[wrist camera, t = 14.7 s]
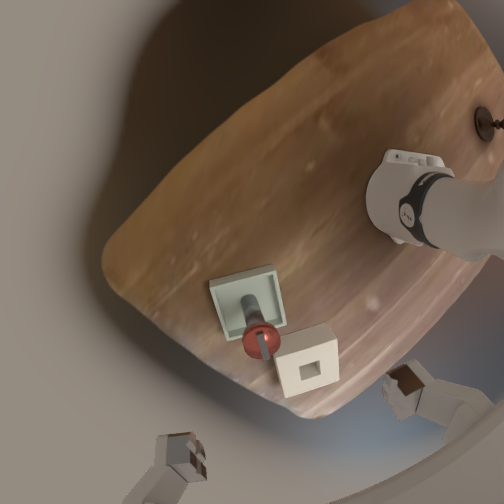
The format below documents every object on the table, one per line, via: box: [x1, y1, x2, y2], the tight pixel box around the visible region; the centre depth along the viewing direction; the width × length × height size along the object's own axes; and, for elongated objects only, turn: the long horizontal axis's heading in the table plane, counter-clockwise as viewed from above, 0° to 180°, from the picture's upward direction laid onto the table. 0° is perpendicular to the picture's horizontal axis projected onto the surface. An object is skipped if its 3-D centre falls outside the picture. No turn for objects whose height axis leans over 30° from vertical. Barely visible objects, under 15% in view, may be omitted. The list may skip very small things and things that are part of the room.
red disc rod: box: [241, 294, 281, 361], centre depth 44 cm, size 5×5×14 cm
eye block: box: [273, 322, 339, 398], centre depth 54 cm, size 12×12×6 cm
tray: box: [209, 264, 287, 341], centre depth 50 cm, size 11×11×3 cm
